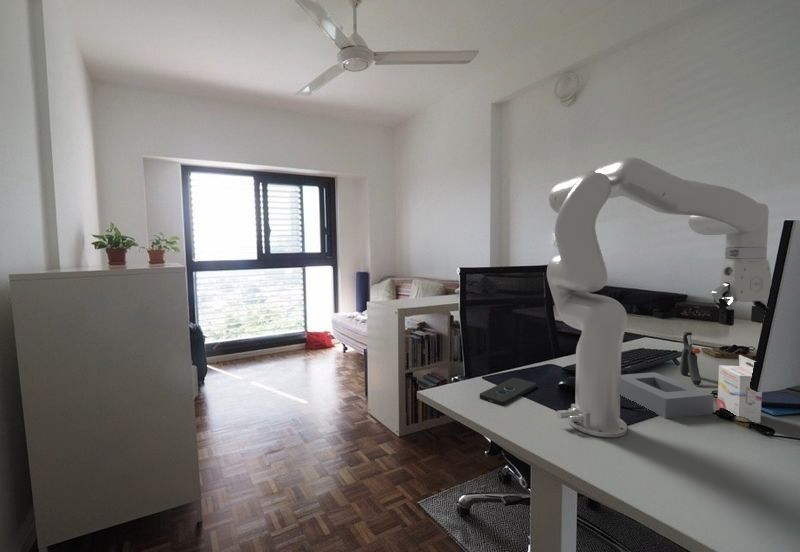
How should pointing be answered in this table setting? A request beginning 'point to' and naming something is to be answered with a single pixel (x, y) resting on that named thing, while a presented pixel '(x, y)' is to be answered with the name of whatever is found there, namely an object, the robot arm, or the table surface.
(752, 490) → the table surface
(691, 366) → the hand grip strengthener
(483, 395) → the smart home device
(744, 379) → the ink cartridge box
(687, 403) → the cartridge dock
